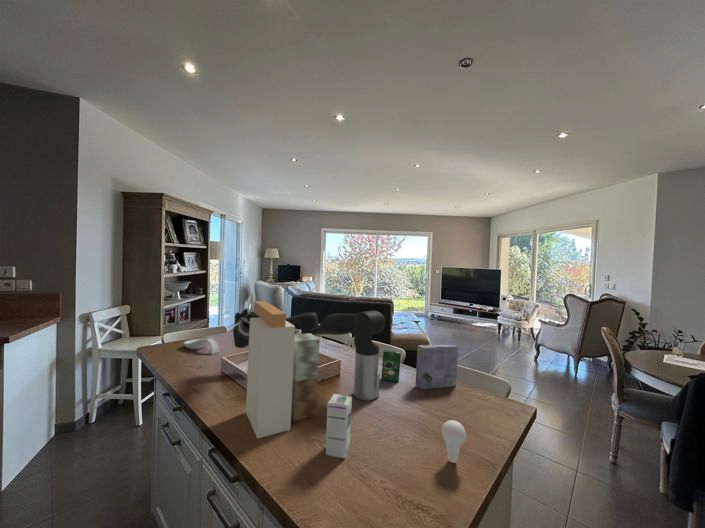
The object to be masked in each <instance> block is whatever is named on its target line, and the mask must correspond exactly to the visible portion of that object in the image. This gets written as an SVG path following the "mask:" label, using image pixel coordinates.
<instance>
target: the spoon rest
mask: <svg viewBox="0 0 705 528" xmlns="http://www.w3.org/2000/svg"><path fill="white" fill-rule="evenodd" d="M207 343H208V344H209V345H210V347H211V348H210V355H211V354H212V355H215V353H216V354H219V353H220V352H221V351H220V347H219V345H218V343H217V341H216V340H215V339H214V338H212V337H209V338H195V339H194V338H193V339H190V340H186V341H184V342H183V346H185V347H186V348H187V349H190V350H200V349H202V348H204V347H205V346H206V345H207ZM218 352H219V353H218Z"/></svg>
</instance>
